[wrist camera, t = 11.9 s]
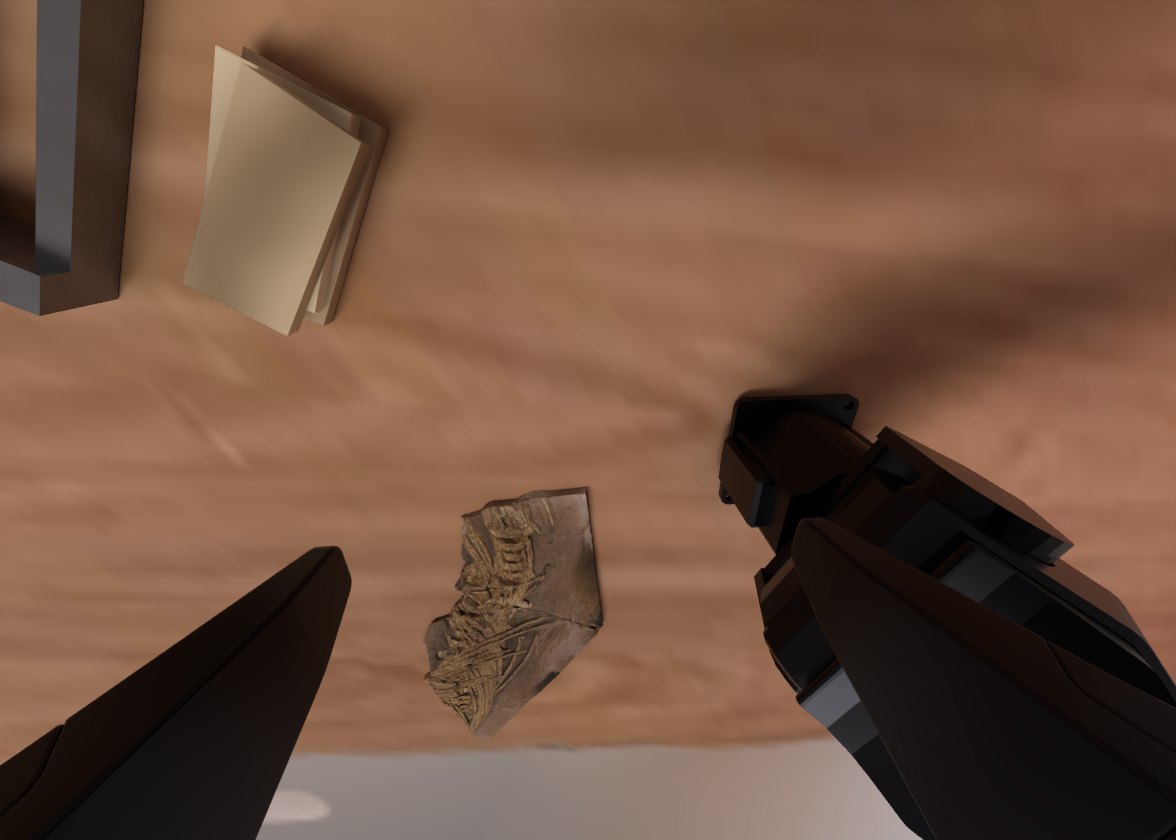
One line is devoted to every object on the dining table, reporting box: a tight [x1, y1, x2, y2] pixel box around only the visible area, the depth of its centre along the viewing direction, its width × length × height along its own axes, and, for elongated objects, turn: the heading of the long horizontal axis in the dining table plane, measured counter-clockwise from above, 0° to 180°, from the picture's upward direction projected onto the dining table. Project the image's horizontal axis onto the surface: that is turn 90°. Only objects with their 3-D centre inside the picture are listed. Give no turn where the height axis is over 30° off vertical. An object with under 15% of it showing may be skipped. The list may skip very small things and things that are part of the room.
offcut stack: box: [182, 45, 388, 336], centre depth 15 cm, size 5×8×2 cm, turn 151°
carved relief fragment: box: [423, 487, 603, 741], centre depth 29 cm, size 26×11×1 cm, turn 159°
